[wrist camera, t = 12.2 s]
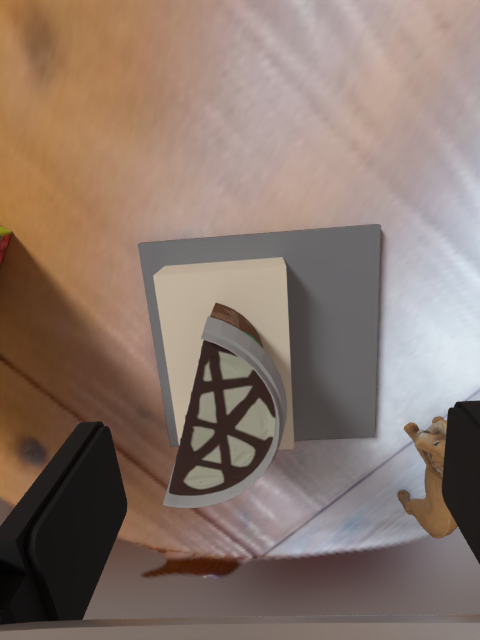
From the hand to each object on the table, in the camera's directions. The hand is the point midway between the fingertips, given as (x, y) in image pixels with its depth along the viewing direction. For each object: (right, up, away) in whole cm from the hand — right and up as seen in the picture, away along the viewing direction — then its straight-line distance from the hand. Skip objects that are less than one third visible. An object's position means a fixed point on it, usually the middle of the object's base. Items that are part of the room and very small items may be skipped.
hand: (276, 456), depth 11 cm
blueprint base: (+1, +2, +25) cm, 26 cm away
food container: (-1, 0, +21) cm, 21 cm away
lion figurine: (+17, -9, +29) cm, 34 cm away
